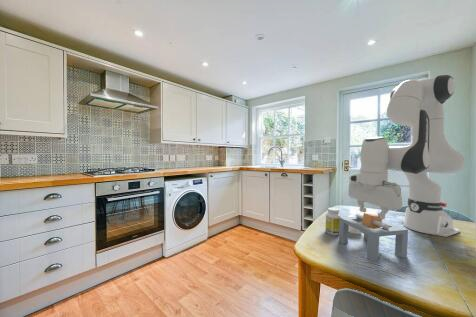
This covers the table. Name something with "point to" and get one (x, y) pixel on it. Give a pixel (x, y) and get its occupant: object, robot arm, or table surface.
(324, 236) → the table surface
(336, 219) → the pill bottle
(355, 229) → the shot glass
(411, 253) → the table surface
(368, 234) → the square frame with slider
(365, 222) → the tall tan box
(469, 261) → the table surface
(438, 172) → the robot arm
